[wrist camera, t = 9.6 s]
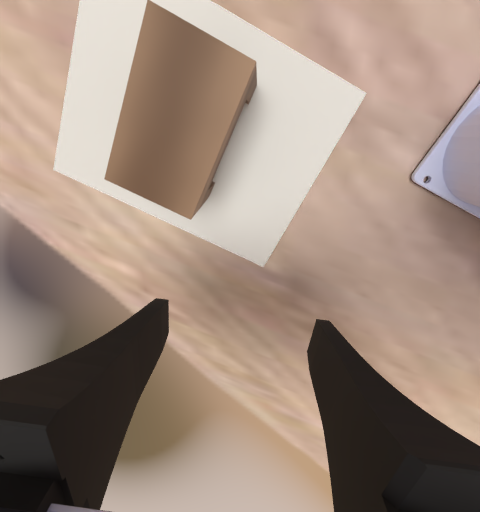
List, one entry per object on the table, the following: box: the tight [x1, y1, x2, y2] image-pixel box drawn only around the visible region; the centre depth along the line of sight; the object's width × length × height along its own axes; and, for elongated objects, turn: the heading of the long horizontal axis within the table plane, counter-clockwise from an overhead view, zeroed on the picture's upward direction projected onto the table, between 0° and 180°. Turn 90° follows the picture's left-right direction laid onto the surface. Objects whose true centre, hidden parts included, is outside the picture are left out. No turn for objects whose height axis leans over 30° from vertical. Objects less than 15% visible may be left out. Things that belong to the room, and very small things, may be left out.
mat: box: [53, 0, 366, 267], centre depth 19 cm, size 18×14×1 cm
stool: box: [104, 0, 257, 220], centre depth 15 cm, size 5×8×6 cm, turn 154°
